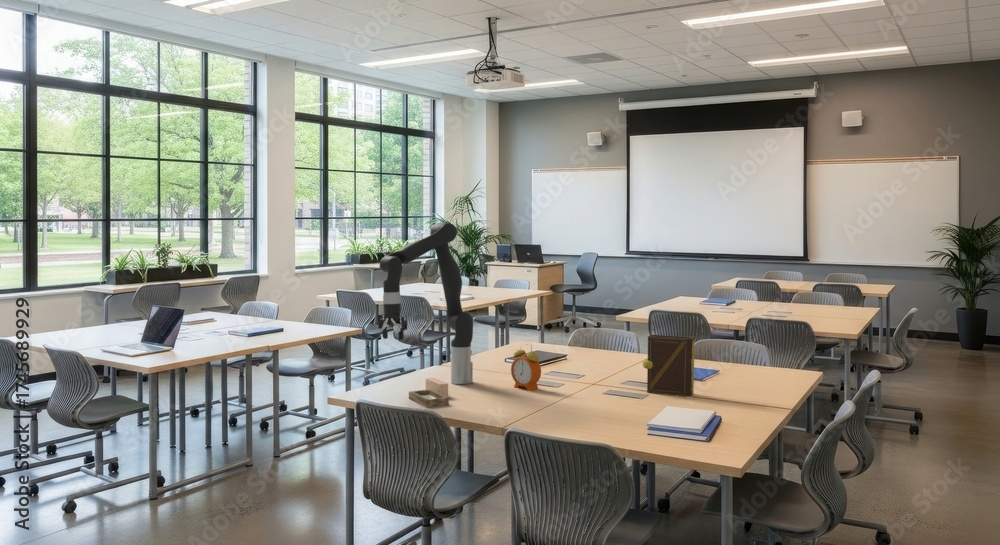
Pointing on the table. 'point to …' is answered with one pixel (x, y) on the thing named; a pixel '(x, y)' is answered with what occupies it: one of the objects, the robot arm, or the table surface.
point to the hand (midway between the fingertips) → (393, 339)
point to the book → (670, 365)
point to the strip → (437, 386)
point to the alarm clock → (526, 369)
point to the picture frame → (428, 398)
